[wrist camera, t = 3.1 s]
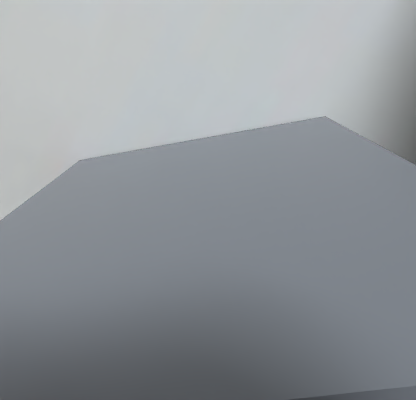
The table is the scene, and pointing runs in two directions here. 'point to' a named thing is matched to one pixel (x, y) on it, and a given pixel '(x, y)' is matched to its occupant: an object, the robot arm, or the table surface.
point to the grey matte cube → (216, 273)
